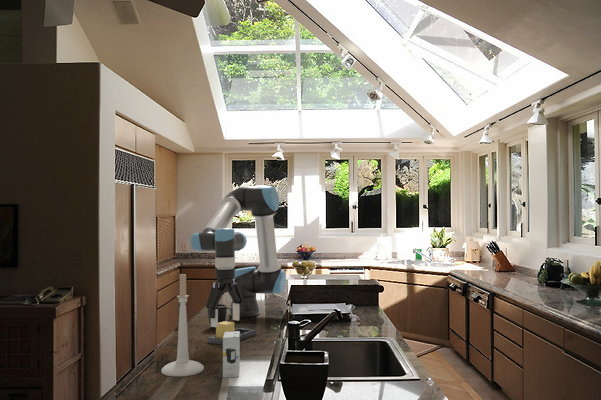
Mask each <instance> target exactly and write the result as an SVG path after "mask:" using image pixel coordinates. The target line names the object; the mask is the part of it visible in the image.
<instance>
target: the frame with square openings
mask: <svg viewBox="0 0 601 400" xmlns="http://www.w3.org/2000/svg"><path fill="white" fill-rule="evenodd" d="M234 331H240V341H242V340H245V339H249V338H251V337H253V336H256V335H257V329H252V328H251V329H250V328H245V327H244V328H243V327H237V328H234ZM207 343H208V344H213V345H220V346H221V345H222V346H223V338H219V337H216V334H215V335H212V336H208V337H207Z"/></svg>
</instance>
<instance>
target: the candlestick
mask: <svg viewBox="0 0 601 400" xmlns="http://www.w3.org/2000/svg"><path fill="white" fill-rule="evenodd" d="M176 297H177V298H178V303H179V314H178V315H179V316H178V330H177V331H178V332H177V333H178V335H177V351H176V353H177V354H176V359H175V361H172V362H169V363H167V364H165V365H164V366H163V367H162V368H161V371H160V372H161V374H162V375H164V376H166V377H167V376H168V377H189V376H194V375H197V374H200V373H202V372H203V371H204V370H205V366H204V365H203V364H202V363H201V362H198V361H195V360H192V359H191V360H190V357H189V356H190V355H189V341H188V340H189V338H188V317H187V306H186V304H187V302H188V297H189V294H188V295H187V274H185V273H180V274H179V295H176Z"/></svg>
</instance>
